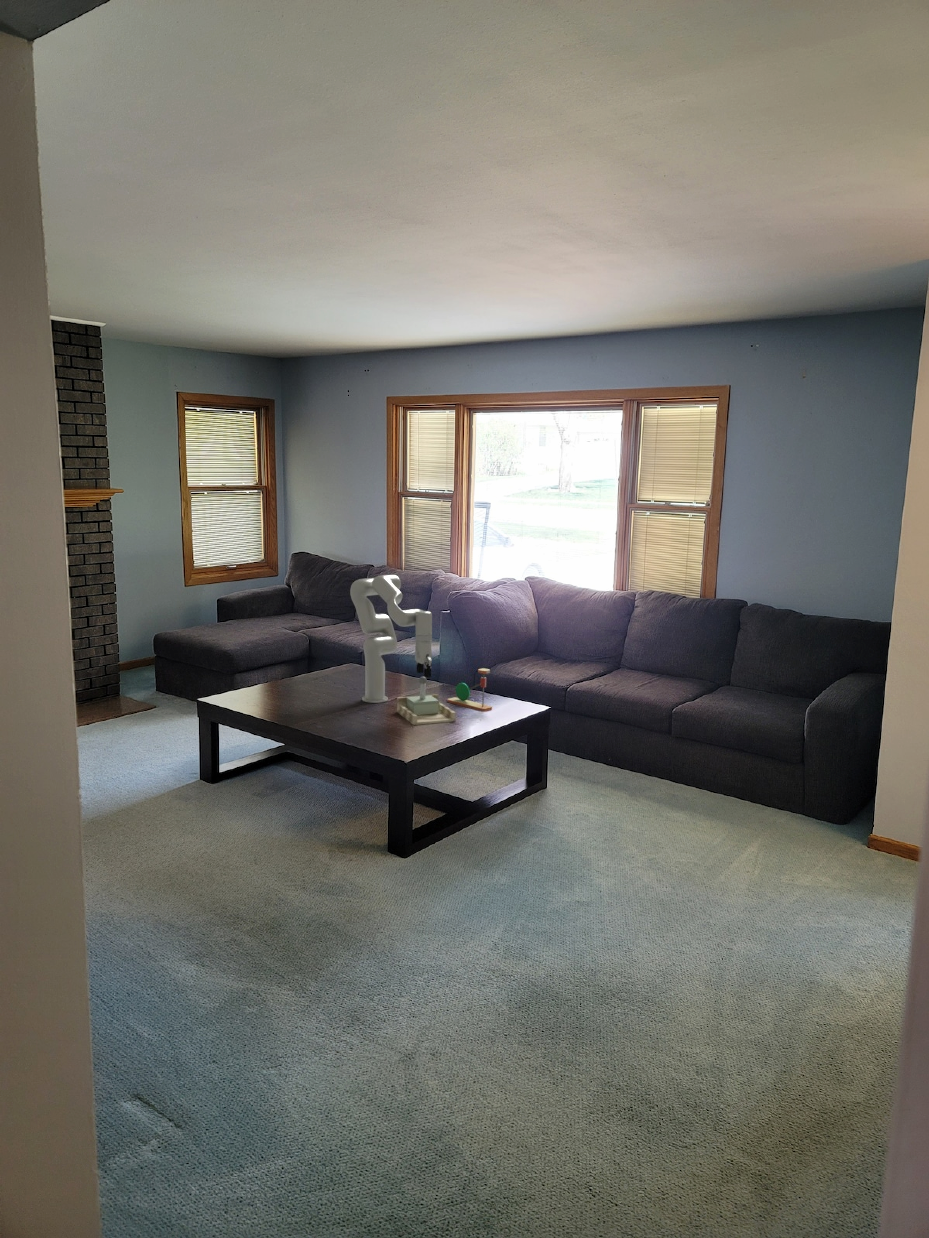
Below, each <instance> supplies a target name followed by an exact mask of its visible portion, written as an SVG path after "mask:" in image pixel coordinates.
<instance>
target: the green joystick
mask: <svg viewBox="0 0 929 1238" xmlns="http://www.w3.org/2000/svg"><path fill="white" fill-rule="evenodd" d="M418 682H419V695H417V696H418V697H409V696H406V697H407V698H406V700H407V709H409V710H410V711H411V712H413V713H414V714H415V715H424V714H435V713H438V712H439V702H440V701H439V699H438V700H437V699H436V698H434V697H433V696H431V695H432V694H429V695H430V696H426V695H427V693H426V687H427V686H426V685H427V684H426V683H427V682H428V680H427V677H424V675H423V676H420V677H419V679H418Z"/></svg>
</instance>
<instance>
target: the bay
mask: <svg viewBox="0 0 929 1238" xmlns="http://www.w3.org/2000/svg"><path fill="white" fill-rule="evenodd" d="M430 695H431V696H433V697H434V698H436V699H437V700H439V694H438V693H435V694H426V696H430ZM418 696H419V695H413V696H412V695H410V696H399V697H397V698H396V712H397V714H399V715H400V716H401V717H402V718H404V719H405V720H406V721H408V722H410V724H412V725H413V726H419V725H429V724H430V725H431V724H440V723H450V722H456V721H457V720H456V718H457V713H456V711H454V710H453V709H451V708H449V707H448V706H447V705H445V704H444V703H442V702H441V701H439V712H438V713H435V714H424V715H415V714H414V713H413V712H411V711H410V710H409V709H407V700H406V698H407V697H418Z"/></svg>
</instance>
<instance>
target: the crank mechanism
mask: <svg viewBox="0 0 929 1238" xmlns="http://www.w3.org/2000/svg"><path fill="white" fill-rule="evenodd" d="M477 672H478V674H483V675H482V676H481V677H480V682H479V683H478V684H476V685H473V686H471V687H469V686H468V685H467V684H466V683H465V682H460V683H458V684H457V685H456V687H455V694H456V697H455V696H454V697H449V698H447V699H446V700H447V703H450V704H453V705H456V706H460V707H464V708H469V709H473V710H476V711H479V712H487V711H492V710H493V706H491V705H487V704H484V701H485V700H484V695H485V688H487V677H486V676H485V675H487V674H490V673H491V670H490V669H489V668H484V667H483V668H479V669H478V670H477ZM479 686H480V688H482V701H481V702H482V703H480V702H476V701H472V700H468V699H469V698H470V694H471V692H470V690H473V689H476V687H479Z"/></svg>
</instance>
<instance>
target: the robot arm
mask: <svg viewBox="0 0 929 1238" xmlns="http://www.w3.org/2000/svg"><path fill="white" fill-rule="evenodd" d="M401 587H402V581H401V579H400V578H399V576H398V575H395V574H381V575H378V576H375V577H369V578H368V577H367V578H359V579H357V580H355V581H354V582H352V583H351V586H350V590H349V593H350V598H351V601H352V603H353V605H354V607H355V610H356V613H357V617H358V621H359V625H360V629H361V630H362V633H363V634H364V635H374V636H370V637H367V638H366V639H365V640H364V642H363V646H362V647H363V654H364V661H365V663H364V664H365V667H364V668H365V670H364V671H365V675H364V676H365V679H364V680H365V682H364V683H365V684H364V685H365V688H364V691H365V693H364V694H365V695H363V696H362V697H361V700H362V702H365V703H370V704H371V703H372V704H380V703H385V702H387V701H389V698H388V696H386V692H385V691H386V686H385V685H386V662H385V661H384V659H383V658H382V656H383V655H384V656H385V655H391V654H393V653H395V652H396V651H397V649H398V640H397V636H396V633H395V629H394V625H393V622H394V623H395V624H396V625H397V626H399V627H405V628H406V627H412V626H413V627H414V626H415V649H414V650H415V651H414V661H416V673H417V674H423V676H424V677H426V678H431V677H432V661H433V660H432V644H431V643H432V642H433V613H432V612H431V611H430V610H423V609H420V608H412V609H410V608H409V609H403V610H402V609H401V607H399V606H398V605H399V604H400V603H401V602H402V599H403V596H404V595H403V593H402V591H400V589H401ZM369 596H370V597H371V596H379V597H380V598H381V599H382V600H383V601H384V602H385V603H386V604H387V607H386V608H387V613H388V615H387V614H386V613H377V612H376V611H375V607H374V604H373V602H372V601H371V600H370V599H369V598H368V597H369ZM392 621H393V622H392ZM375 634H376V635H375ZM377 634H379V635H377Z"/></svg>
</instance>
